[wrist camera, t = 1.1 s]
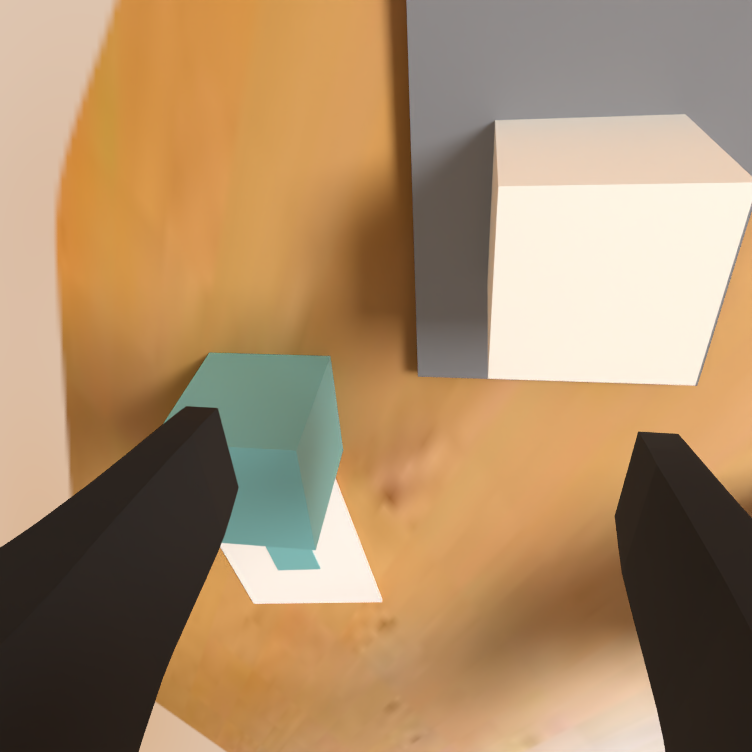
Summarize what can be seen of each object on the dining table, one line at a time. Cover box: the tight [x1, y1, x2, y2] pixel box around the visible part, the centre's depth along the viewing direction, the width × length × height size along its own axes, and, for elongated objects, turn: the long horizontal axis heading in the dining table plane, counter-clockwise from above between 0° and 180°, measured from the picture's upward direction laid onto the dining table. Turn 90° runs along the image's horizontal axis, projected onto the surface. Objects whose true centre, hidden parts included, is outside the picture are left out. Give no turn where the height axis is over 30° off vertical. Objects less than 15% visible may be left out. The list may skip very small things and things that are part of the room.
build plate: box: [406, 0, 752, 386], centre depth 17 cm, size 12×9×1 cm
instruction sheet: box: [220, 478, 382, 604], centre depth 28 cm, size 10×7×1 cm
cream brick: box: [487, 114, 752, 385], centre depth 15 cm, size 5×5×5 cm
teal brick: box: [163, 353, 343, 550], centre depth 21 cm, size 5×5×5 cm
